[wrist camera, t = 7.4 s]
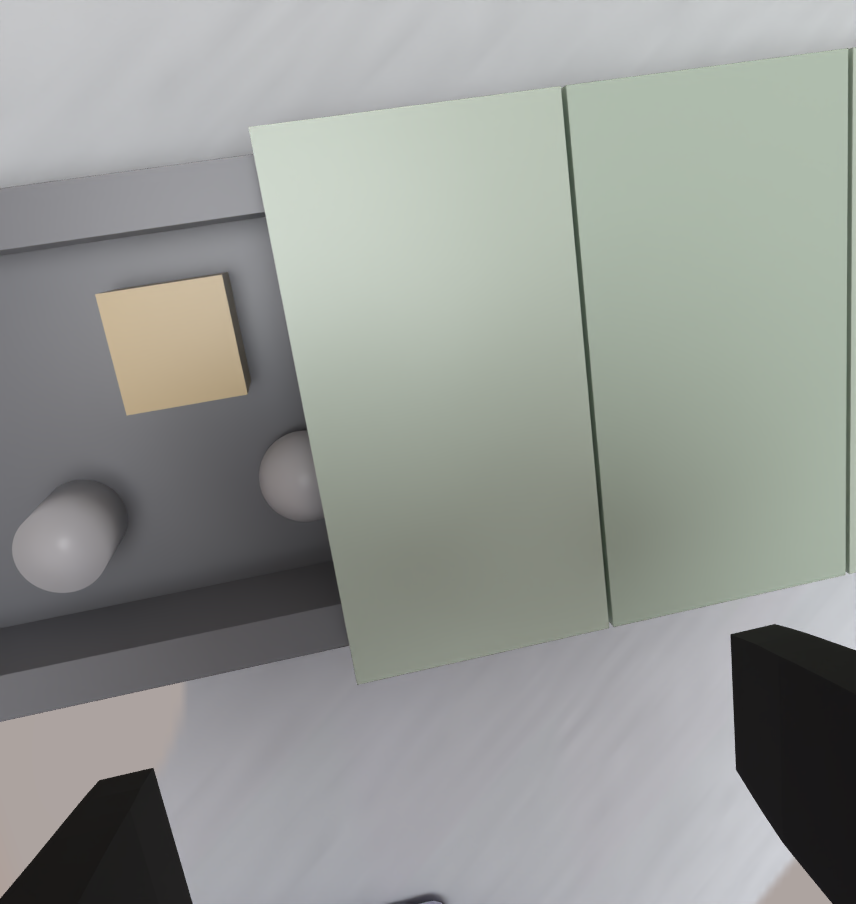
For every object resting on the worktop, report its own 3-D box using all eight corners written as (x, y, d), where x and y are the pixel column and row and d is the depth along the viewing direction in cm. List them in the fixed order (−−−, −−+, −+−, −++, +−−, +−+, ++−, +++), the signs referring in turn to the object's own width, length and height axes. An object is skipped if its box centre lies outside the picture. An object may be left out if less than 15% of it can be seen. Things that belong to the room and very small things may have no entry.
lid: (1031, 514, 19) (1211, 578, 15) (354, 664, 17) (371, 781, 13) (1068, 25, 16) (1303, -41, 12) (250, 133, 14) (236, 93, 10)
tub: (576, 538, 20) (623, 585, 18) (-70, 672, 18) (-135, 751, 16) (536, 131, 18) (584, 109, 15) (-230, 237, 16) (-345, 235, 13)
